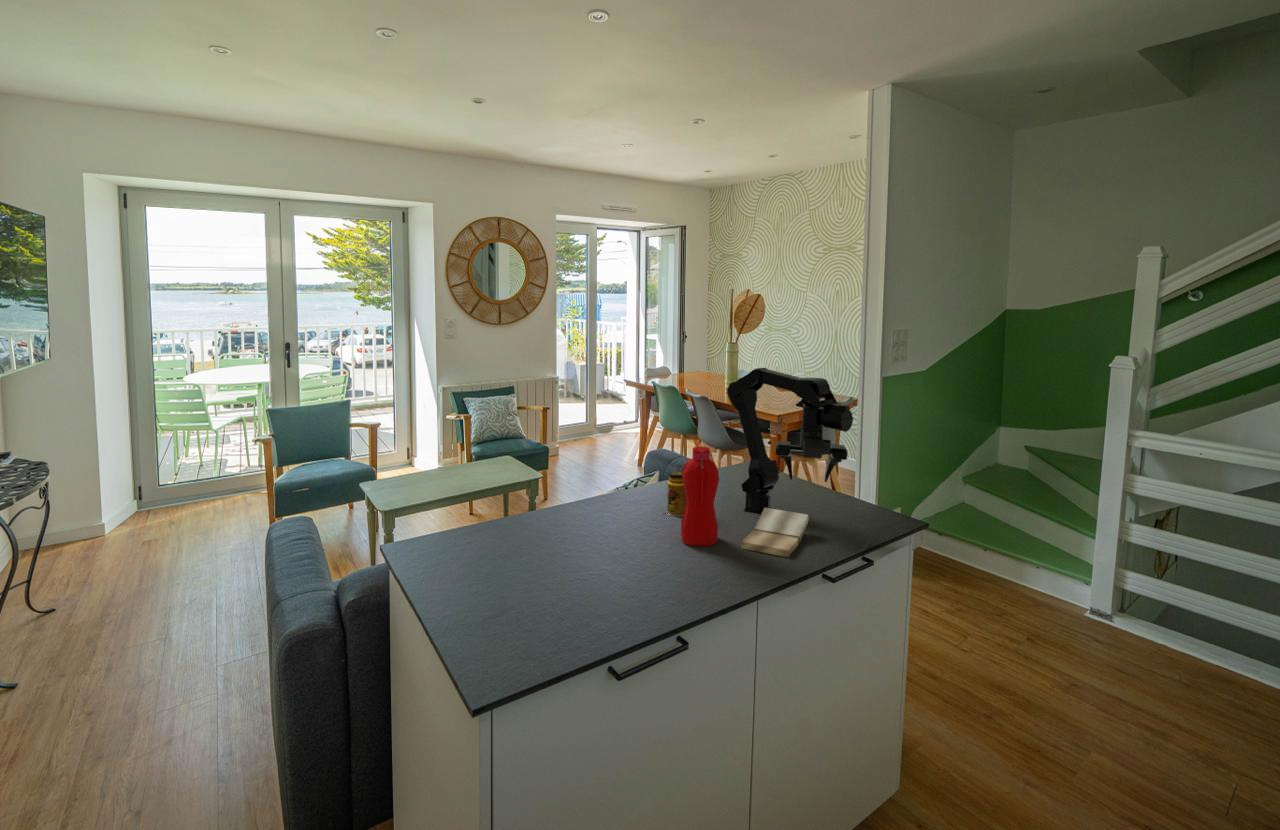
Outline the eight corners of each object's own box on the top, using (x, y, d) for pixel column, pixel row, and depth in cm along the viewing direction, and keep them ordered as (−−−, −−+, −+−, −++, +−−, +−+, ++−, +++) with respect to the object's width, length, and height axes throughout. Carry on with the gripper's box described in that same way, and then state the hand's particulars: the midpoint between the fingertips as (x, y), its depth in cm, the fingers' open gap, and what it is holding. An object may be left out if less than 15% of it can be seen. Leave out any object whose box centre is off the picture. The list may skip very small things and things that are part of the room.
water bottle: (682, 550, 163) (684, 453, 158) (680, 534, 174) (681, 443, 169) (719, 550, 163) (722, 453, 158) (714, 535, 174) (717, 443, 169)
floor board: (741, 549, 164) (741, 541, 164) (753, 536, 173) (754, 529, 172) (788, 558, 158) (788, 550, 158) (798, 544, 167) (799, 537, 167)
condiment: (662, 514, 190) (663, 474, 188) (671, 505, 198) (672, 467, 195) (686, 517, 187) (687, 477, 185) (694, 508, 195) (695, 469, 193)
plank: (755, 534, 173) (754, 528, 172) (765, 513, 180) (764, 507, 179) (800, 542, 168) (799, 536, 167) (808, 520, 174) (808, 514, 174)
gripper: (778, 429, 170) (774, 486, 173) (852, 433, 166) (847, 492, 169) (776, 420, 180) (773, 474, 183) (846, 424, 177) (842, 479, 180)
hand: (808, 480), depth 179 cm, fingers open, 9 cm apart
